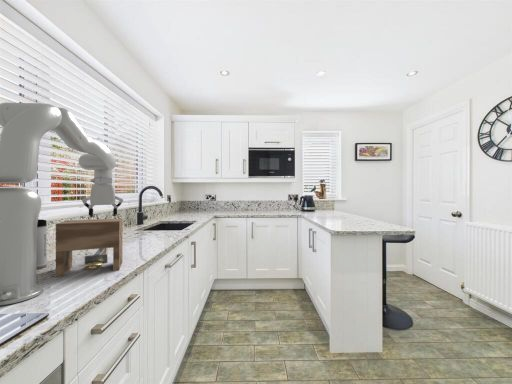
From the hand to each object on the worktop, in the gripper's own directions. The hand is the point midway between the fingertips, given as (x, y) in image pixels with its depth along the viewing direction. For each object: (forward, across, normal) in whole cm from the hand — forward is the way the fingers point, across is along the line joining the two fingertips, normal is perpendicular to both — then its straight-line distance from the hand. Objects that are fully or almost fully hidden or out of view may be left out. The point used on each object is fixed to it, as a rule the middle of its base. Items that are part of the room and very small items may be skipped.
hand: (103, 216), depth 120 cm
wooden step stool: (+18, 0, -25) cm, 31 cm away
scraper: (+18, 0, -8) cm, 20 cm away
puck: (+19, 0, -23) cm, 29 cm away
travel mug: (+19, -21, -15) cm, 32 cm away
